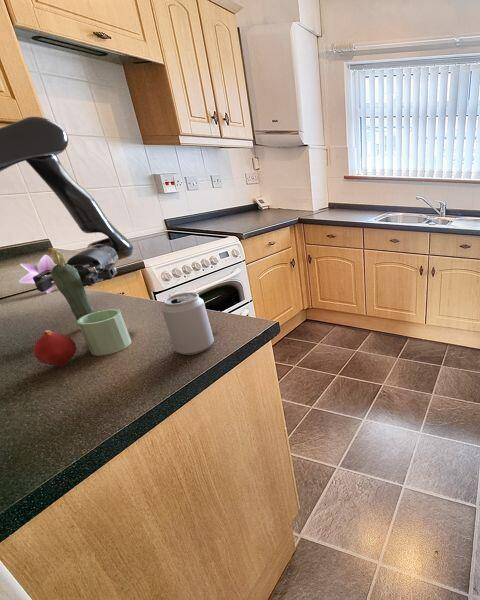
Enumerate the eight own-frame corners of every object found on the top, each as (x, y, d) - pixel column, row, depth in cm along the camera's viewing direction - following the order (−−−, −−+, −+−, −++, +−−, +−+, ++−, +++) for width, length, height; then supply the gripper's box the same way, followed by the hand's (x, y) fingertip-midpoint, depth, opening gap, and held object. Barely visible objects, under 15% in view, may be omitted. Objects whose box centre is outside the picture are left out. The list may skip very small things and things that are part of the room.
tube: (85, 358, 70) (71, 326, 66) (97, 342, 75) (84, 312, 72) (126, 351, 72) (114, 320, 69) (135, 336, 78) (124, 307, 75)
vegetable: (103, 326, 83) (71, 246, 75) (82, 334, 79) (45, 251, 71) (93, 322, 84) (60, 244, 76) (72, 330, 81) (35, 249, 73)
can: (173, 346, 74) (156, 296, 69) (210, 335, 78) (197, 287, 73) (179, 361, 68) (161, 308, 64) (218, 348, 73) (205, 297, 68)
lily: (18, 302, 99) (19, 276, 95) (15, 278, 104) (16, 252, 100) (74, 301, 108) (78, 277, 104) (69, 279, 114) (72, 256, 110)
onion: (39, 367, 67) (20, 332, 64) (76, 354, 71) (61, 320, 68) (48, 377, 64) (29, 341, 61) (86, 362, 68) (70, 328, 65)
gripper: (50, 254, 85) (14, 273, 71) (119, 247, 90) (98, 264, 76) (62, 281, 88) (30, 305, 74) (128, 274, 93) (109, 295, 79)
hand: (64, 284), depth 75 cm, fingers open, 8 cm apart
